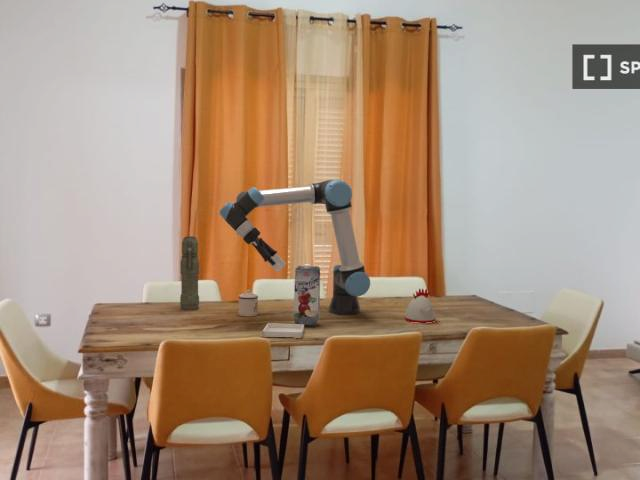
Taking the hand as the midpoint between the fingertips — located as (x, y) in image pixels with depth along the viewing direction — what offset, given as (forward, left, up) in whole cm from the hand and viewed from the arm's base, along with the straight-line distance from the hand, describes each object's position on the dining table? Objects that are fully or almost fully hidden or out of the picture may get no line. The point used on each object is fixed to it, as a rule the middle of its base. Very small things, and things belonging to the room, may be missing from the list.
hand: (282, 268), depth 268 cm
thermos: (+48, -26, -25) cm, 60 cm away
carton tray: (-3, +18, -25) cm, 30 cm away
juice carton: (-11, +1, -25) cm, 27 cm away
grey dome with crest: (-62, -16, -25) cm, 69 cm away
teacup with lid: (+18, -18, -25) cm, 36 cm away
